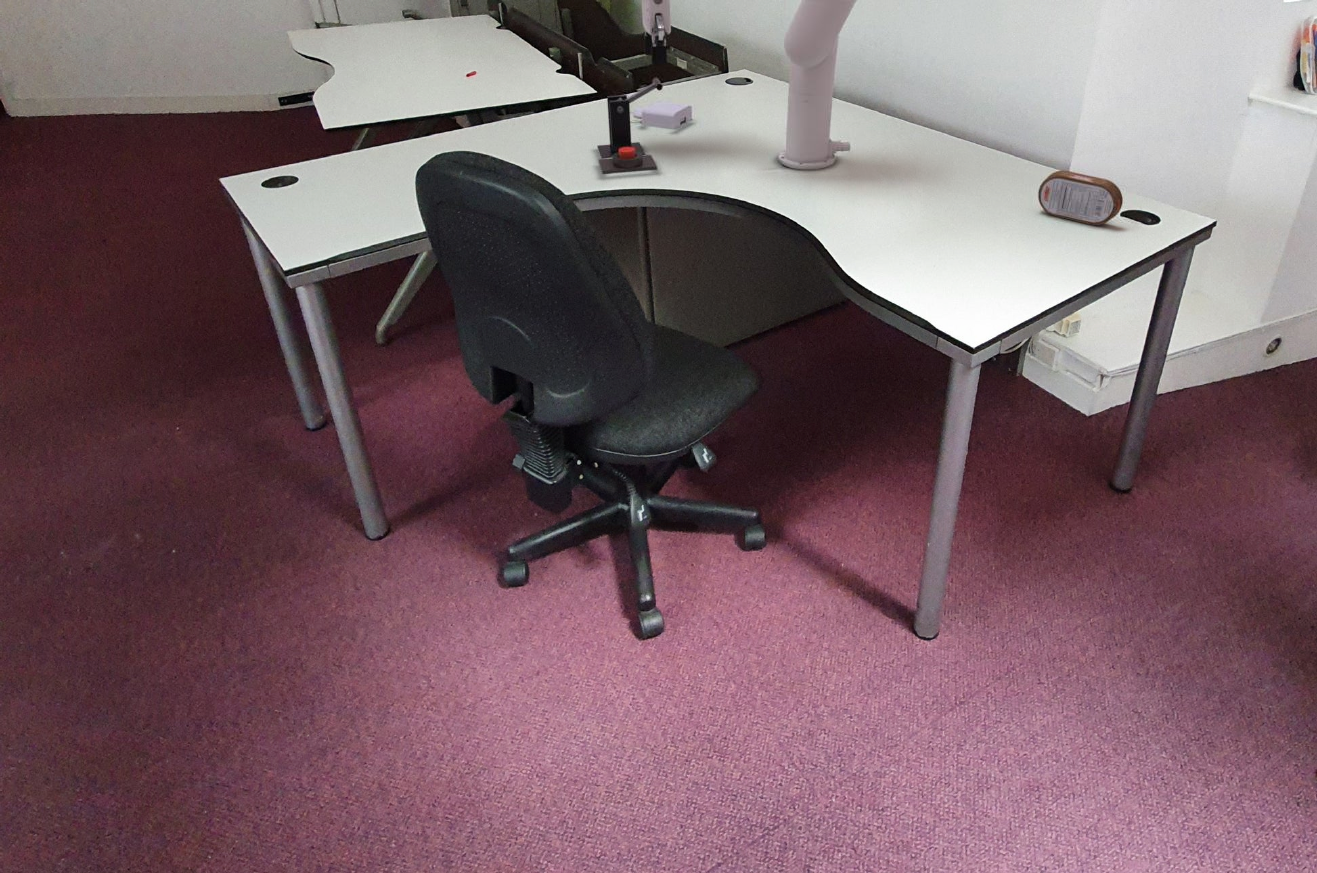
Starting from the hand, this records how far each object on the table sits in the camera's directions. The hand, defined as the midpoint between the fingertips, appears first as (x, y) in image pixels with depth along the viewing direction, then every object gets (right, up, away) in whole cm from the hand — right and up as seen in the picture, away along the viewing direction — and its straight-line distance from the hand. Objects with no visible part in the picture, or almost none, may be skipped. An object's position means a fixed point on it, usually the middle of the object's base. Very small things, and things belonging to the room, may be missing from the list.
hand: (655, 59), depth 207 cm
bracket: (-8, -18, +10) cm, 22 cm away
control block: (-6, -24, +2) cm, 25 cm away
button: (-6, -22, -1) cm, 23 cm away
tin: (+80, -42, -29) cm, 95 cm away
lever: (-4, -8, +4) cm, 9 cm away
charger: (0, -5, +29) cm, 29 cm away
